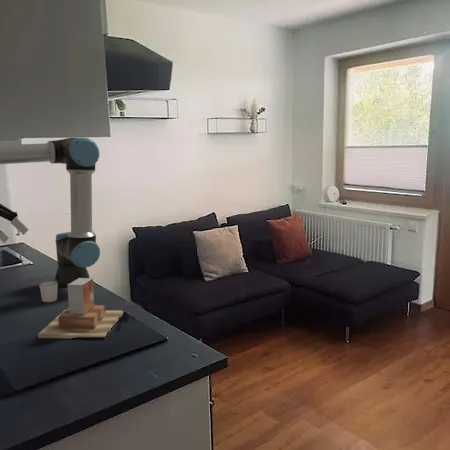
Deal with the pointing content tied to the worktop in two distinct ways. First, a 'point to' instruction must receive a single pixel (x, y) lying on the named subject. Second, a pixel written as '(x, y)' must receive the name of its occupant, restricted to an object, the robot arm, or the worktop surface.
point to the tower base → (82, 332)
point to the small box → (81, 296)
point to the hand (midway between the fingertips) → (16, 235)
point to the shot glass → (48, 291)
